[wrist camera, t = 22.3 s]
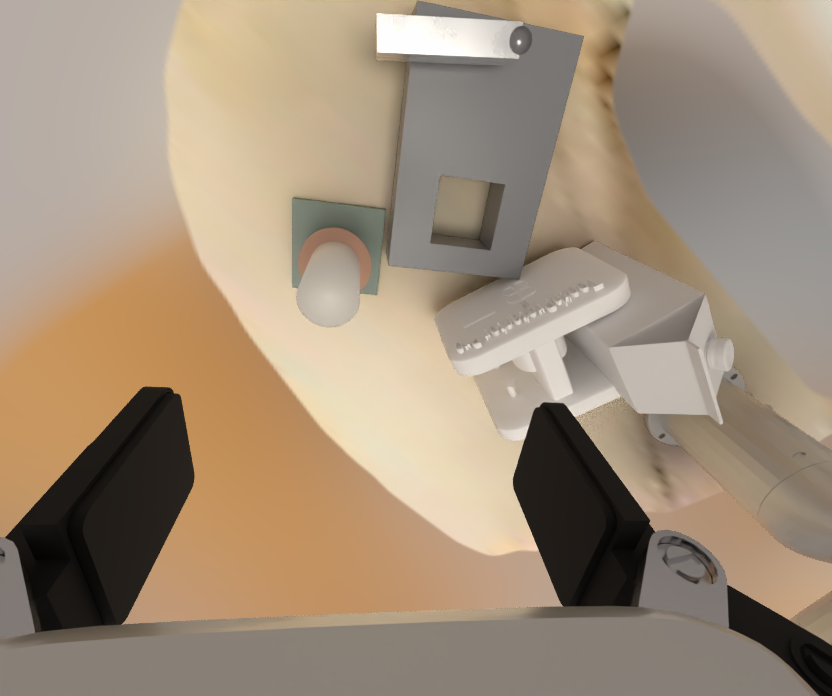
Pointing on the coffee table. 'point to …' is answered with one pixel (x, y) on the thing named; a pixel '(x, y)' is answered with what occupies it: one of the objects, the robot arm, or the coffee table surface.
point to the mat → (350, 217)
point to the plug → (332, 276)
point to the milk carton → (657, 343)
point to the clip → (450, 40)
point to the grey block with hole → (478, 149)
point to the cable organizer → (534, 337)
